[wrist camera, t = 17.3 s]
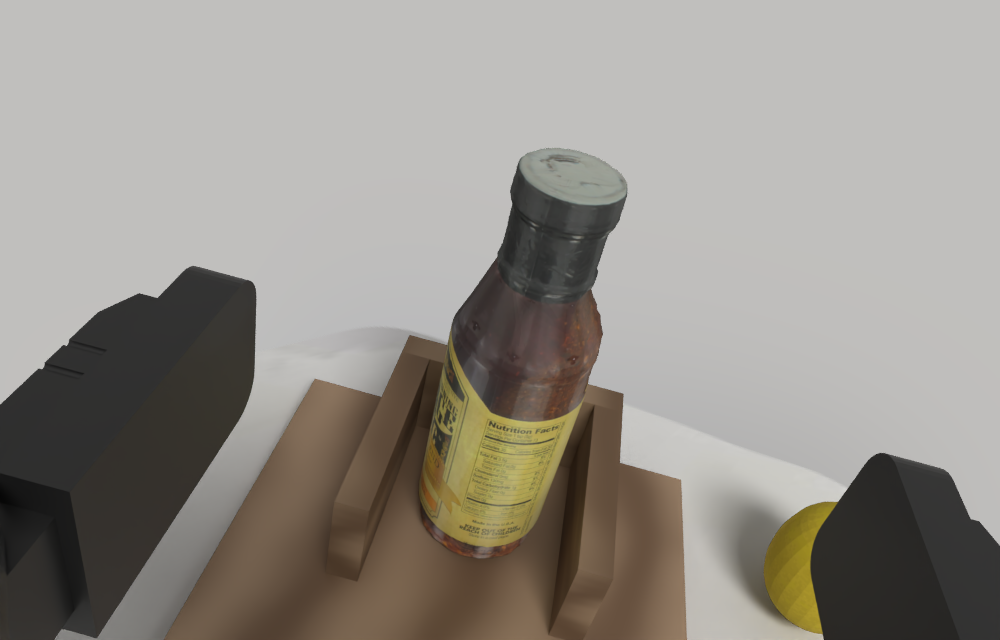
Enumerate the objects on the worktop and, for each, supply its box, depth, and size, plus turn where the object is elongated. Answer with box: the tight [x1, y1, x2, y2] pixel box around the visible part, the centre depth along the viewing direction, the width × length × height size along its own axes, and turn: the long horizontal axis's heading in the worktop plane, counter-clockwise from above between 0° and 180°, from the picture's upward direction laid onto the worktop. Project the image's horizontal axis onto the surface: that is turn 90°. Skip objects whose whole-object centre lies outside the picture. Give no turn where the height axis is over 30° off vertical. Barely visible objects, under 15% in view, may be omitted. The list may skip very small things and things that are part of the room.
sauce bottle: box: [419, 148, 627, 559], centre depth 33 cm, size 7×6×20 cm
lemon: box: [764, 502, 838, 634], centre depth 38 cm, size 6×6×8 cm
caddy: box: [164, 335, 687, 640], centre depth 36 cm, size 22×18×6 cm
